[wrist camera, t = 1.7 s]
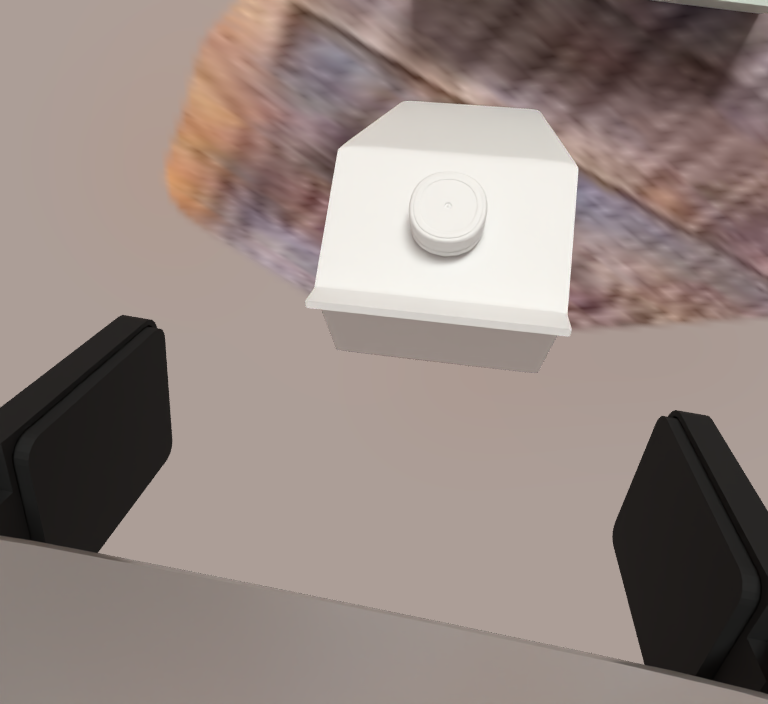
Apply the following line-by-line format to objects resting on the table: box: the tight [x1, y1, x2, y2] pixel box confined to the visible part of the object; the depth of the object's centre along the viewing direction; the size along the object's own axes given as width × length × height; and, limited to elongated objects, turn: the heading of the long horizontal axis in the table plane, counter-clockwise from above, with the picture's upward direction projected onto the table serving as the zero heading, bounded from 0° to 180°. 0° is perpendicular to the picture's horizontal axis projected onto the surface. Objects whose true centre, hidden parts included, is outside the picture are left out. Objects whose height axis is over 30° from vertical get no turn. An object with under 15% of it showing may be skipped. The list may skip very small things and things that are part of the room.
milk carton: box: [305, 101, 578, 373], centre depth 24 cm, size 7×7×19 cm
